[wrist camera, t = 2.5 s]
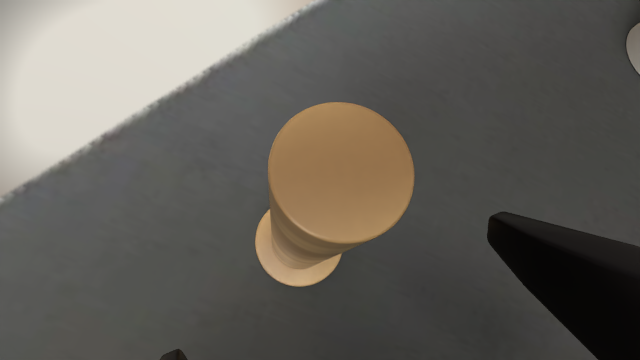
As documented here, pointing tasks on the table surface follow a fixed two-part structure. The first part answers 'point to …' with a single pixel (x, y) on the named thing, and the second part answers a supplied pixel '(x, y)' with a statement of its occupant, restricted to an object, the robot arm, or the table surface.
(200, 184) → the table surface
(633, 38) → the cup
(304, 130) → the tan wooden tall piece
